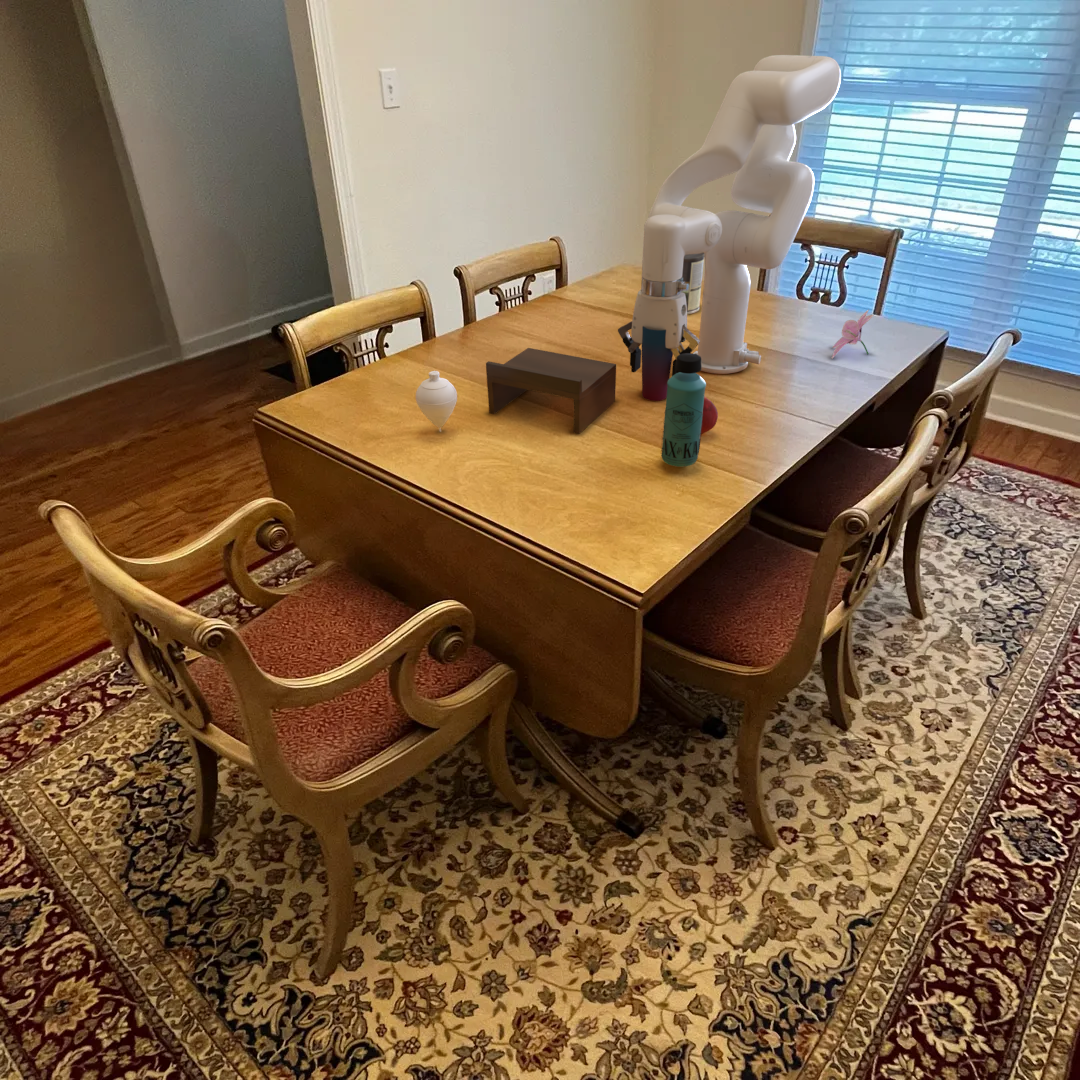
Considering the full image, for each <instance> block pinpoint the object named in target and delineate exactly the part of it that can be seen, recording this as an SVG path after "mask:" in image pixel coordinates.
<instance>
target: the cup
mask: <svg viewBox="0 0 1080 1080" xmlns="http://www.w3.org/2000/svg"><path fill="white" fill-rule="evenodd" d="M665 340H666V330H653V329H649V328H646V327H644V326H643V334H642V344H641V396H642V398H643V399H644V400H647V401H650V402H651V401H652V402H659V401H663V400H666V398H667V386H668V385H667V382H668V380H669V379H670V378H671V372H672V364H673V357H674V355H673V353H672V351H671V349H668V348H666V344H665Z"/></svg>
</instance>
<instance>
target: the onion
mask: <svg viewBox="0 0 1080 1080" xmlns="http://www.w3.org/2000/svg"><path fill="white" fill-rule="evenodd" d="M703 415H704V416H702V423H703V424H702V425H701V428H702V429H701V434H700V436H702V435H703V434H706V433H707V432H709V431H711V430H713V429H714V427H715V426H716V424H717V422H718V418H719V412H718V409H717V407H716V405H715V404H714V403H713V402H712V400H710V399H709V398H708V397H706V396H705V395H704V405H703Z"/></svg>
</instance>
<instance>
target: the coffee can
mask: <svg viewBox="0 0 1080 1080" xmlns="http://www.w3.org/2000/svg"><path fill="white" fill-rule="evenodd" d="M704 264H705V258H704V253H699V254H688V255H685V256H684V260H683V273H682V277H683V282H685V283H688V284H689V288H688V290H687V291H685V290H684V291H682V293H685V296H686V304H687V315H691V314H695V313H698V312H699V311H700V305H701V304H700V303H701V294H702V284H703V283H702V282H703V273H704Z"/></svg>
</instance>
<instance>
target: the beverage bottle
mask: <svg viewBox="0 0 1080 1080" xmlns="http://www.w3.org/2000/svg"><path fill="white" fill-rule="evenodd" d="M693 353H694V352H691V353H684V354H680V355H678V357H677V361H676V366H675V369H676V370H677V371H679V373H676V374H675V375H673V376H672V375H671V376H670V378H669V380H668V382H667V385H668V386H667V397H666V398H665V409H664V417H663V419H662V420H663V421H662V422H663V429H662V434H661V435H662V437H661V440H662V442H661V449H660V454H661V459H662V461H663V462H664V463H665V464H667V465H669V466H673V467H679V468H680V467H681V468H683V467H689V466H692V465H694V464H695V463H696V462H697V460H698V458H699V455H700V449H701V448H700V447H701V441H702V439H701V438H702V434H701V429H702V428H701V425H702V424H703V423H702V416H704V415H703V405H704V395H705V393H706V387H707V382H706V381H705V379H704V378H703V377H702V376H701V375H700V374H698V373H700V372H702V371H701V367H702V365H701V357H700V356H699V355H697V354H693ZM700 434H701V435H700Z"/></svg>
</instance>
